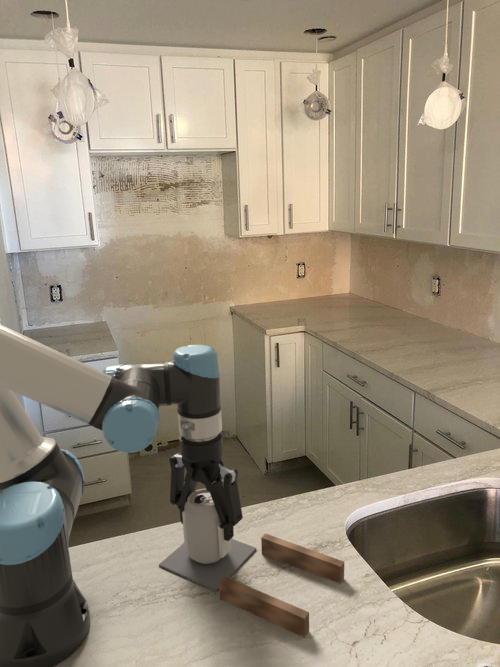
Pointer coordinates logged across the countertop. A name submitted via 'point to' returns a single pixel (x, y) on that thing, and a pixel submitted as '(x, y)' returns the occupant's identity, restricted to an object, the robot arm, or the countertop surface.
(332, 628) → the countertop surface
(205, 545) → the can
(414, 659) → the countertop surface
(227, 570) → the mat
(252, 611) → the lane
